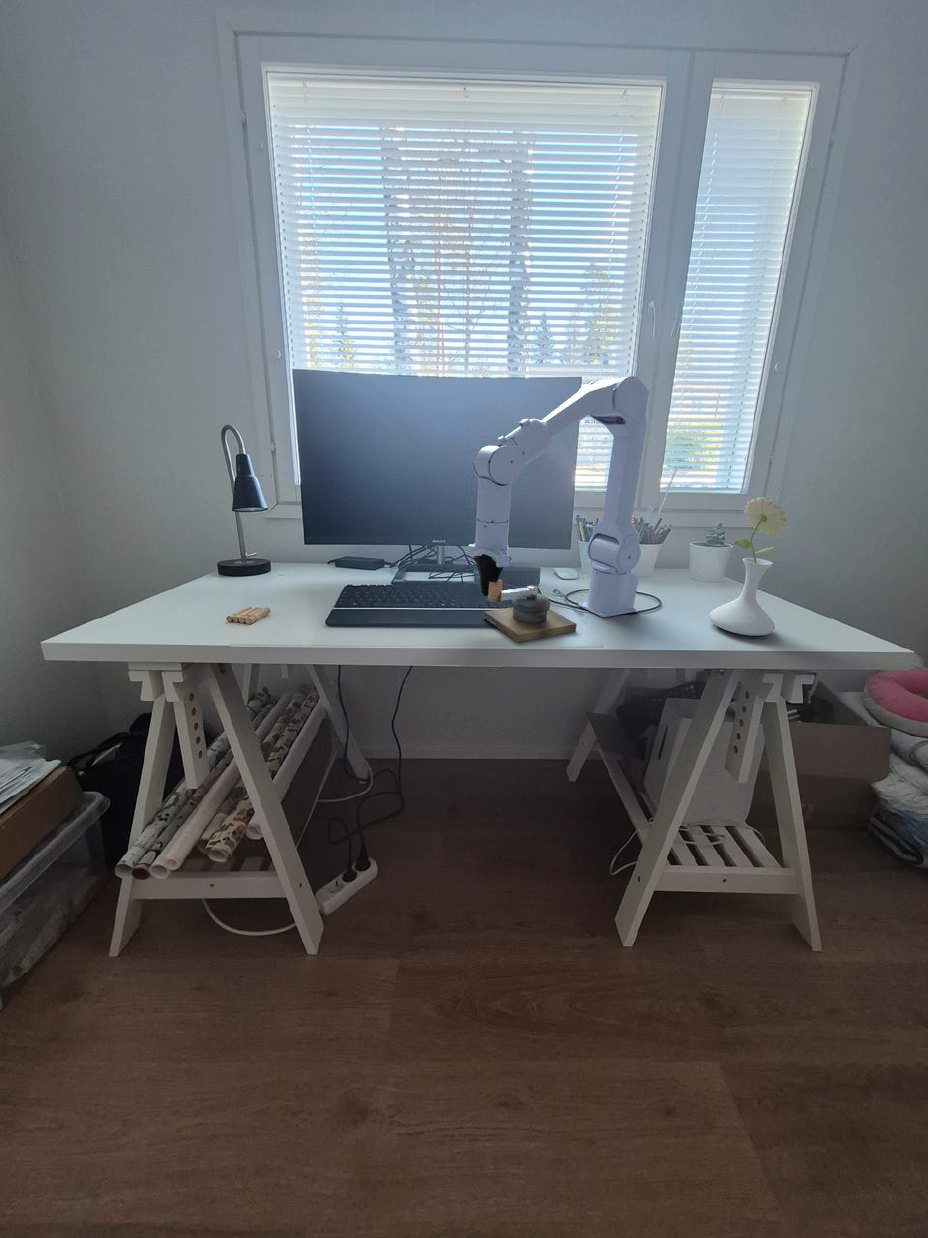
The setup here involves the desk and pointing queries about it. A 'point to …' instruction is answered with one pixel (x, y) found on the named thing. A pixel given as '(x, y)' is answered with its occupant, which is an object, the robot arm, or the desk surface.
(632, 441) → the robot arm
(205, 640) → the desk surface
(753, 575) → the flower in vase
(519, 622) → the wooden base with cylinder
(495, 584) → the hammer
